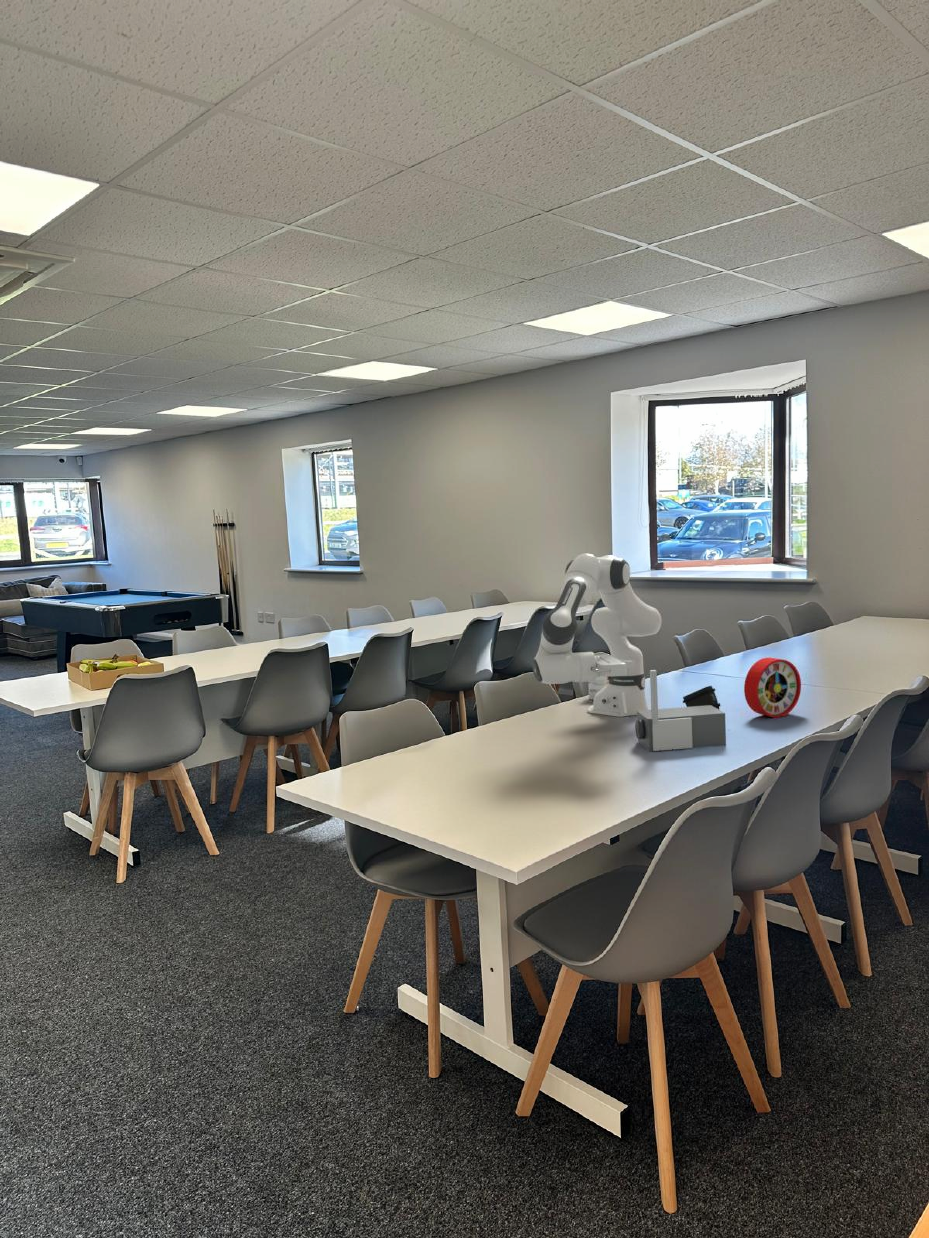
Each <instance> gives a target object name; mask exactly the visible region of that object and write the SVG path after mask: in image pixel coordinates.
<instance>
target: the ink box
mask: <svg viewBox="0 0 929 1238" xmlns="http://www.w3.org/2000/svg"><path fill="white" fill-rule="evenodd" d="M587 684H588V685H587V686H588V700H590V699H593V701H594V697H595V695H596V694H597V693H598V692H599V691H600V690H601V689H603V688H604V687H605V686H606V685H607V684H609V679H608V680H607V677H605V676H600V677H596V680H595V681H590V682H587Z"/></svg>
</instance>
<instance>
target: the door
mask: <svg viewBox="0 0 929 1238" xmlns="http://www.w3.org/2000/svg"><path fill="white" fill-rule="evenodd" d="M657 672H658V671H657V670H656V669H650V670H649V682H650V683H649V684H650V685H649V686H650V687H649V688H650V689H649V690H650V708H651V709H650V710H651V715H652V737H653V751H652V752H660V750H661V751H670V750H671V751H672V749H673V750H683V749H684V748H686V749H693V748H692V718H678V719H666V720H658V709H659V704H658V703H659V702H658V677H657V676H658V675H657V674H658V673H657Z"/></svg>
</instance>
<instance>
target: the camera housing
mask: <svg viewBox="0 0 929 1238" xmlns="http://www.w3.org/2000/svg"><path fill="white" fill-rule="evenodd" d="M719 709H720V708H719ZM719 709H717V708H715V707H713V706H711V705H706V706H693V707H687V706H681V707H671V708H660V709H659V708H658V720H666V719H678V718H692V748H691V749H695V748H708V747H709V746H710V747H718V746H719V747H720V746H727V736H726V735H727V732H726V731H727V730H726V726H727V725H726V712H724V711H722V710H721V709H720V710H719ZM634 730H635V731H634V732H635V735H636V738H637V742H638V744H640V745H641V746H642V747H643V748H645V749H646V750H647V749H648V750H649V751H648V750H647V751H648V752H654V751H653V737H652V715H651V709H649V710H642V711H637V715H636V720H635V724H634ZM707 746H708V747H707ZM684 749H687V748H684Z"/></svg>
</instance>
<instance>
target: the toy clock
mask: <svg viewBox="0 0 929 1238" xmlns="http://www.w3.org/2000/svg"><path fill="white" fill-rule="evenodd" d="M743 685H744V687H743V692H744V693H743V694H744V698H745V701H746V703H747V705H748V707H749V708H750V709H751V711H753V712H754V713H756V714H759V715H762V716H767V717H771V718H776V717H777V718H781V717H780V716H782V717H785V716H786V715H788V714H789V713H791V711H793V709H795V707H796V706H797V704H798V701H799V699H800V696H801V693H802V692H801V691H802V679H801V676H800V672H799V671H798V669H797V667H796V666H795V664H793V663H792V662H790V661H789V660H786V659H782V658H776V657H763V658H760V659H759V660H757V661H755V663H753V665H752V666H751V667H750V668H749V669H748V672H747V674H746V677H745V680H744V683H743Z"/></svg>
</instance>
